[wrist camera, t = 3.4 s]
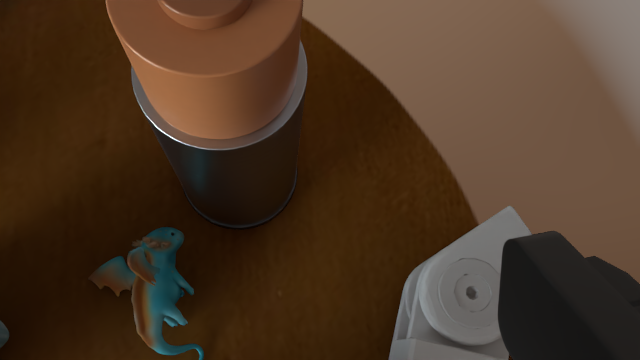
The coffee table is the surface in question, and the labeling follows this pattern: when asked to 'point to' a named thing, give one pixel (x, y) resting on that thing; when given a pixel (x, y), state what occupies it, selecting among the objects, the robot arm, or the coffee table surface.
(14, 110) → the coffee table surface
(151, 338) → the dragon figurine
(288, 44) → the shaker lid
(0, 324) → the flower pot
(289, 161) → the shaker
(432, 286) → the mechanical component
